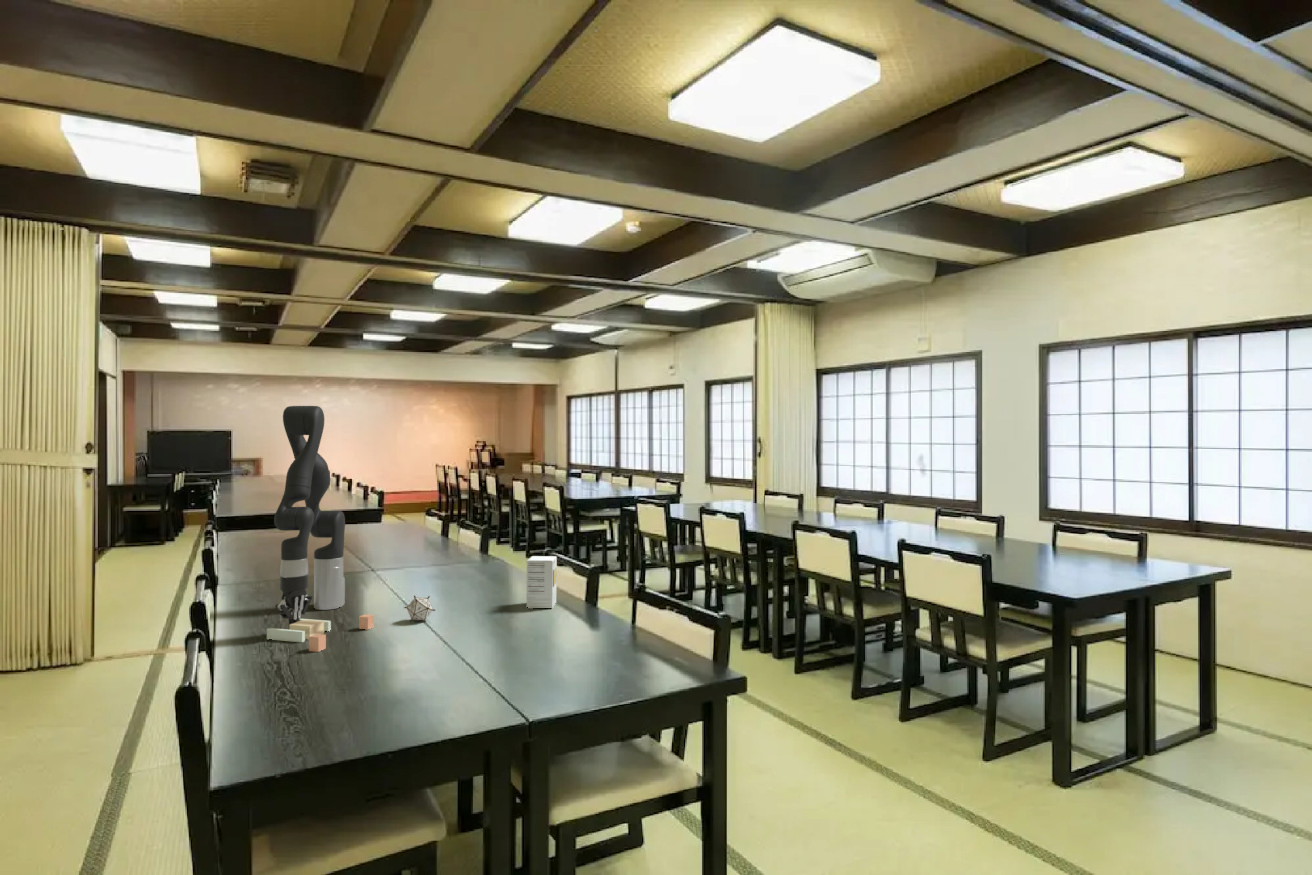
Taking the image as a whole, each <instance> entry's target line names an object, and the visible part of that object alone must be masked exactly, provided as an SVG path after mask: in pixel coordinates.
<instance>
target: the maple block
mask: <svg viewBox="0 0 1312 875" xmlns="http://www.w3.org/2000/svg"><path fill="white" fill-rule="evenodd" d="M303 619H304V620H301V621H298V622H296V623H293V624H290V625H289V624H288V630H300V631H305V640H306V639H307V641H309V637H310V636H312V635H315V634H325V631H324V621H317V620H318V619H313V620H305V619H306V618H303Z"/></svg>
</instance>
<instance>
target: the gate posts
mask: <svg viewBox="0 0 1312 875" xmlns="http://www.w3.org/2000/svg"><path fill="white" fill-rule="evenodd" d="M358 619H359V620H358V623H359V625H358V629H365V630H364V631H369V630H368V629H370V630H372V629H374V628H373V627H374V626H375V621H374V620H375V615H374V614H362V615H359V618H358ZM371 628H372V629H371ZM326 635H327V634H325V633H324V634H315V635H312V636H310V637H309V640H308V648H309V649H308V651H309V652H316V653H317V652H318V653H319V652H321V650H322V651H323V650H326V649H327V636H326Z"/></svg>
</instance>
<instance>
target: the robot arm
mask: <svg viewBox="0 0 1312 875" xmlns="http://www.w3.org/2000/svg"><path fill="white" fill-rule="evenodd" d="M324 413H325V412H324V411H323V408H322V407H320V406H319V405H318V406H317V405H290V406H287V407H285V408H284V410H283V412H282V422H283V427H284V431H285V434H286V437H287V439H288V443H289V445H290V447H291V451H292V454H293V458H294V460H293V461H292V462H291V464H290V466H289V467H288V469H287V472H286V476H285V478H286V479H285V486H284V491H283V492H284V493H283V495H282V498H281V501H280V502H279V504H278V507H277V509H276V510H275V511H276V512H275V514H274V517H273V518H274V520H273V522H274V526H275V527H276V529H278V530H279V531H285V532H286V531H299V532H298V535H297V536H294V537H289V538H286V539H283V540H282V541H281V544H280V547H281V548H280V550H281V552H280V553H281V554H280V560H281V561H280V565H279V566H280V567H279V570H280V571H279V572H280V573H279V574H280V575H279V582H280V584H279V589H280V591H281V592H282V595H281V601H280V603H276V604H275V606H274V607H275V609H276V610H277V612H278V613H279V614H280V616H281V617H282V618H283V619H287V620H288V626H289V625H290V624H293V623H296V622H298V621H300V618H301V617H302V615H303V616H304V615H305V614H306V613H307V610H308V609H309V606H310V604H311V601H312V599H313V608H315V609H314V610H318V611H319V610H320V611H321V610H322V611H325V610H329V611H330V610H334V609H340V608H343V606H344V605H346V602H345V600H346V578H345V576H344V551H345V550H344V549H345V532H346V531H345V528H346V517H345V514H344V512H343V511H341V510H321V509H320V503H321V500H322V499H323V497H324V495H326V492H327V491H328V490H329V487H330V485H331V479H332V478H331V475H330V469H329V465H328V463H327V461H326V460H325V459H324V458H323V456H322V455H320V454H319V450H320V445H321V441H322V437H323V432H324V427H325V414H324ZM305 436H308V437H307V440H306V437H305ZM301 501H302V502H303V501H304V503H305V504H304V505H305V506H294V505H295V504H296V503H298V502H301ZM310 534H311V536H312V537H313V538H318V539H319V538H322V539H324V538H325V539H327V538H328V539H329V538H331V541H330V542H329V543H328V544H326V545H323V546H321V547H318V548H316V549H315V550H314V552H313V574H314V575H313V579H314V580H313V596H311V595H308V594H307V589H308V588H309V560H308V544H309V538H310ZM339 607H340V608H339Z"/></svg>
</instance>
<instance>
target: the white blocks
mask: <svg viewBox="0 0 1312 875" xmlns="http://www.w3.org/2000/svg"><path fill="white" fill-rule="evenodd" d="M304 619H305V620H314V619H311V618H301V617H300V621H301V620H304ZM316 620H317V621H324V632H325V631H327V632H328V631H329V632H331V631H332V622H331V621H332V620H325V619H324V620H323V619H316ZM330 630H331V631H330ZM327 632H326V633H327ZM329 632H328V633H329ZM269 639H272V640H271V641H285V642H294V643H295V642H296V643H304V642H306V639H305V631H300V630H289V628H288V629H287V628H285V629H284V628H276V627H269V628H266V640H269Z"/></svg>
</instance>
